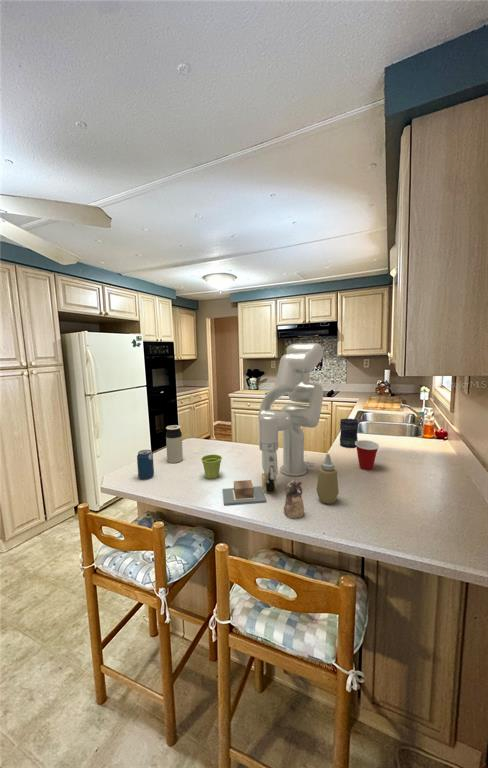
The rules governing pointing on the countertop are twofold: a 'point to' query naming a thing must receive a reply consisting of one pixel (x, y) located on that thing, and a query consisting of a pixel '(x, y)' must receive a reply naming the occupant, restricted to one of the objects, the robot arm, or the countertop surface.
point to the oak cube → (264, 480)
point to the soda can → (145, 464)
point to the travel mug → (174, 444)
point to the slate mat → (230, 498)
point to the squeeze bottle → (327, 482)
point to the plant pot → (211, 465)
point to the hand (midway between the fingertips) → (269, 487)
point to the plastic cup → (366, 453)
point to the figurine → (293, 500)
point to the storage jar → (348, 433)
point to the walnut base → (243, 489)
